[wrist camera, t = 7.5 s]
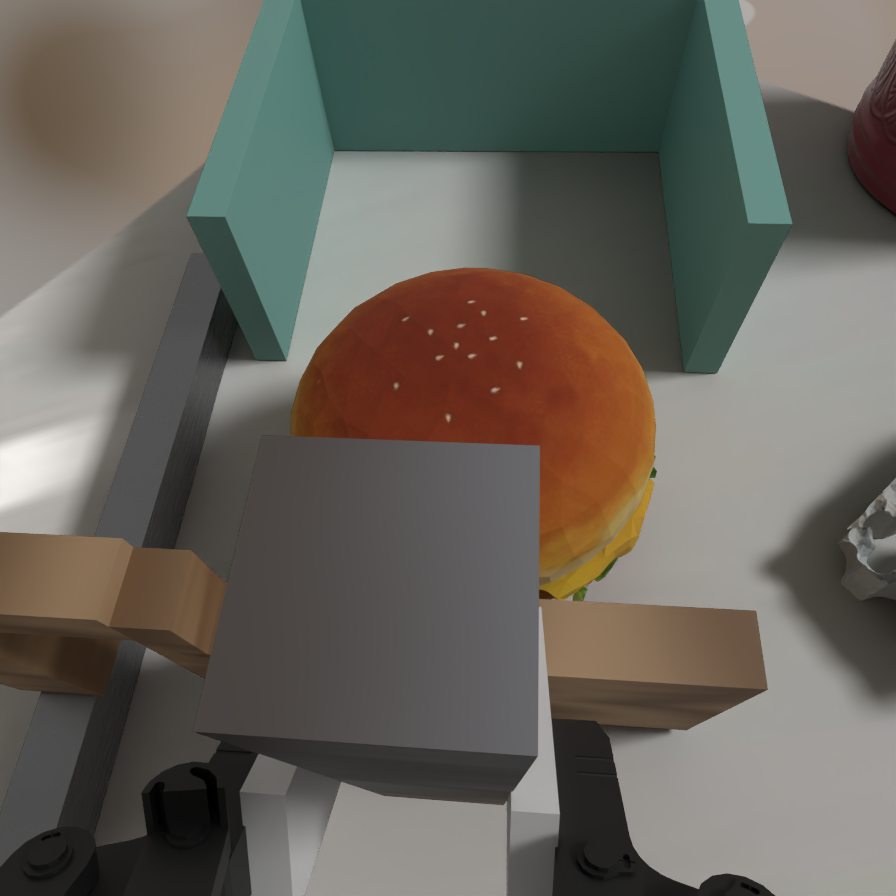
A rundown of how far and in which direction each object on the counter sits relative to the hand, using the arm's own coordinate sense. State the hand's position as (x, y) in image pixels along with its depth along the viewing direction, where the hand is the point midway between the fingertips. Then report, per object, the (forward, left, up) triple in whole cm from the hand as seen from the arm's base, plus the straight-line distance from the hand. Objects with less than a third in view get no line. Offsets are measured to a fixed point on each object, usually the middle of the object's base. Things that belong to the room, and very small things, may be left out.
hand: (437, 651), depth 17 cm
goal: (0, -24, -9) cm, 26 cm away
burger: (0, -8, -9) cm, 13 cm away
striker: (+3, +1, -9) cm, 9 cm away
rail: (+13, -5, -9) cm, 17 cm away
